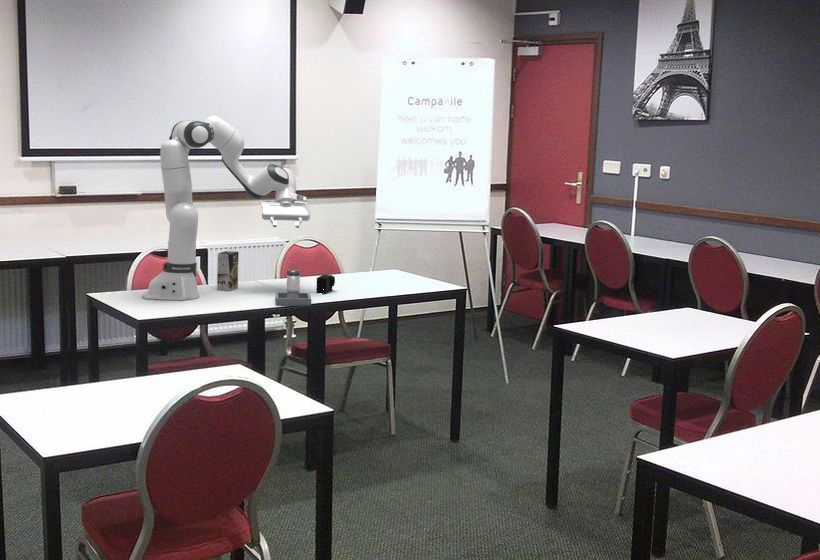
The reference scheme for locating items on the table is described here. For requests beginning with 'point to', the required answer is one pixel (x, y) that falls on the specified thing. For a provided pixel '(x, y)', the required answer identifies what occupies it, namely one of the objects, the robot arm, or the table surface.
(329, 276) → the digital camera
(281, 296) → the tray
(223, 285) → the coffee box
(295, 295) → the shaker
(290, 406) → the table surface
